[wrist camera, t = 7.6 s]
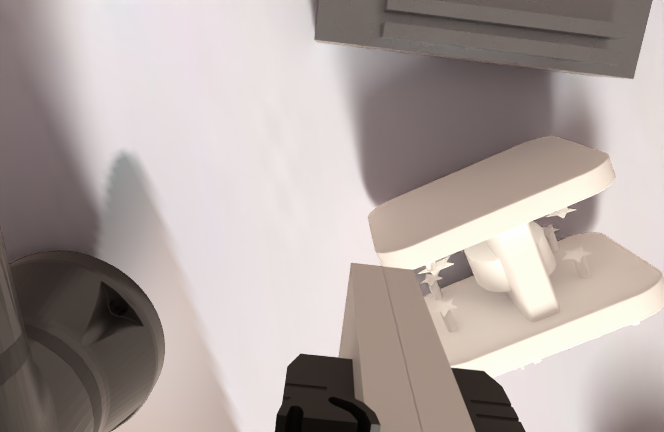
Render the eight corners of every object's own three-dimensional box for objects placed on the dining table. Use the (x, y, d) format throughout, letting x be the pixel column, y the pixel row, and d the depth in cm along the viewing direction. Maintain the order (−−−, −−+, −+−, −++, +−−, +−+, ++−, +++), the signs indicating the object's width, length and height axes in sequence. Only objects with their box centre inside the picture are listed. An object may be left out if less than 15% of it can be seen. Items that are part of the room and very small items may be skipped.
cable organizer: (555, 123, 42) (635, 147, 31) (598, 250, 45) (687, 314, 33) (364, 205, 44) (375, 256, 33) (416, 323, 46) (443, 408, 35)
